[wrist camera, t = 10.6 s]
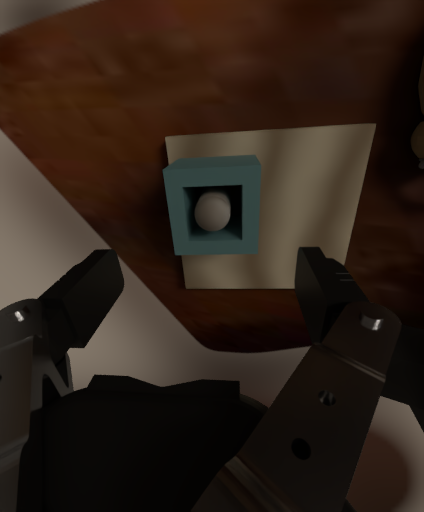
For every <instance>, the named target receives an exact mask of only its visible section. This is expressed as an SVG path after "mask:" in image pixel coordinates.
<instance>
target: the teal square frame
mask: <svg viewBox="0 0 424 512" xmlns="http://www.w3.org/2000/svg"><path fill="white" fill-rule="evenodd" d="M163 176H164V183H165V190H166V196H167V203H168V210H169V217H170V223H171V230H172V237H173V244H174V250H175V255H222V254H258V241H259V213H260V186H261V164H260V162H259V160H258V159H257V157H256V155H237V156H217V157H198V158H179V159H177V160H176V161H174V162H173V163H172V164H170V165H169V166H167V167H166V168H165V169H163ZM224 185H241V216H230V219H229V221H228V223H227V224H226V226H225V227H224V228H222V229H220V230H218V231H207V230H204V229H203V228H201V227H200V226H199V225H198V223H197V222H196V219H195V213H194V212H195V207H196V193H195V187H198V186H224Z"/></svg>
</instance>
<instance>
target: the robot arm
mask: <svg viewBox="0 0 424 512" xmlns="http://www.w3.org/2000/svg"><path fill="white" fill-rule="evenodd" d="M294 285H295V293H296V296H297V299H298V302H299V305H300V308H301V311H302V314H303V317H304V320H305V323H306V326H307V329H308V332H309V335H310V338H311V341H312V344H313V345H312V346H311V347H310V349H309V350H308V352H307V353H306V354H305V356H304V357H303V359H302V360H301V362H300V364H299V365H298V366H297V368H296V369H295V371H294V372H293V374H292V375H291V376H290V378H289V379H288V381H287V382H286V384H285V385H284V387H283V388H282V390H281V391H280V393H279V394H278V396H277V397H276V399H275V400H274V401H273V403H272V404H271V406H270V407H269V408H268V407H266V406H265V405H263V404H262V403H260V402H258V401H256V400H254V399H252V398H250V397H248V396H245V395H242V394H240V386H239V385H240V384H239V381H226V380H204V379H202V380H196V381H192V382H186V383H181V384H176V385H171V386H166V387H160V386H156V385H153V384H150V383H147V382H144V381H141V380H138V379H135V378H132V377H129V376H114V375H94V376H93V378H92V380H91V382H90V383H89V385H88V387H87V388H83V389H80V390H77V391H74V390H73V383H72V374H71V367H70V359H69V356H68V354H67V351H68V349H69V348H84V347H85V346H86V345H87V343H88V342H89V340H90V339H91V337H92V336H93V334H94V333H95V331H96V330H97V328H98V327H99V325H100V324H101V322H102V321H103V319H104V318H105V316H106V315H107V313H108V312H109V311H110V309H111V308H112V306H113V305H114V303H115V302H116V300H117V299H118V297H119V296H120V294H121V293H122V291H123V288H124V278H123V274H122V271H121V267H120V264H119V260H118V257H117V254H116V252H115V251H114V250H113V249H105V250H104V249H103V250H95V251H93V252H92V253H91V254H90V255H89V256H88V257H87V258H86V259H85V260H83V261H82V262H81V263H79V264H77V265H75V266H73V267H72V268H71V269H70V270H69V271H68V272H67V273H66V275H63V276H62V277H61V278H60V279H59V281H57V282H56V283H54V285H52V286H51V287H50V288H49V289H48V290H47V291H45V292H44V293H43V294H42V295H41V296H40V297H39V298H38V299H25V300H21V301H18V302H15V303H13V304H11V305H9V306H7V307H5V308H3V309H2V310H0V512H356V510H355V509H354V508H353V507H352V505H351V504H350V503H349V502H348V500H347V499H346V496H347V493H348V490H349V487H350V484H351V481H352V478H353V475H354V472H355V469H356V466H357V463H358V460H359V457H360V454H361V451H362V448H363V445H364V442H365V439H366V436H367V433H368V430H369V427H370V425H371V422H372V418H373V415H374V412H375V409H376V406H377V404H378V401H379V398H380V396H383V397H386V398H389V399H392V400H395V401H398V402H401V403H404V404H407V405H409V406H410V408H411V410H412V411H413V413H414V415H415V417H416V419H417V421H418V422H419V424H420V426H421V428H422V430H423V432H424V330H423V329H419V328H414V327H410V326H406V325H402V324H401V322H400V320H399V318H398V317H397V316H396V315H395V314H394V313H393V312H391V311H390V310H388V309H387V308H385V307H383V306H380V305H378V304H375V303H371V302H369V300H368V299H367V297H366V296H365V295H364V293H363V292H362V290H361V289H360V288H359V286H358V285H357V283H356V282H355V281H353V278H352V277H351V275H350V274H349V272H348V271H347V270H346V268H345V267H344V265H343V264H341V263H340V262H338V261H336V260H335V259H333V258H326V257H325V255H324V254H323V252H322V250H321V249H320V247H318V246H316V247H299V249H298V253H297V262H296V270H295V280H294Z"/></svg>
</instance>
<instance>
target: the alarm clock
mask: <svg viewBox="0 0 424 512" xmlns="http://www.w3.org/2000/svg"><path fill="white" fill-rule="evenodd" d="M418 89H419V97H420V106H421V112H422V113H423V115H424V56H423V62H422V67H421V73H420V78H419V84H418ZM411 147H412V150H413V152H414V153H415V155H416V156H417V157H418V158H419V161H421V162H420V163H419V166H418V167H419V168H421V169H424V121H423V122H420V123H419V125H418V126H417V127H416V129H415V130H414V132H413V134H412V137H411Z"/></svg>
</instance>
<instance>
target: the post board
mask: <svg viewBox="0 0 424 512" xmlns="http://www.w3.org/2000/svg"><path fill="white" fill-rule="evenodd" d="M375 128H376V124H351V125H336V126H320V127H304V128H289V129H273V130H258V131H242V132H227V133H211V134H195V135H180V136H168V137H165V140H166V147H167V154H168V162H169V165H170V164H172V163H173V162H174V161H176V160H177V159H179V158H198V157H217V156H237V155H256V157H257V159H258V160H259V162H260V164H261V186H260V213H259V241H258V254H222V255H181V256H182V263H183V271H184V278H185V285H186V289H278V288H295V285H294V280H295V270H296V262H297V253H298V249H299V247H316V246H318V247H320V249H321V250H322V252H323V254H324V255H325V257H326V258H333V259H335V260H336V261H338V262H340V263H341V264H343V265H344V263H345V258H346V254H347V250H348V245H349V241H350V236H351V232H352V228H353V223H354V219H355V215H356V210H357V206H358V202H359V197H360V193H361V189H362V184H363V180H364V176H365V171H366V167H367V162H368V158H369V154H370V149H371V145H372V141H373V136H374V132H375ZM195 193H196V207H195V212H194V213H195V219H196V222H197V223H198V225H199V226H200V227H201V228H203V229H204V230H207V231H218V230H220V229H222V228H224V227H225V226H226V224H227V223H228V221H229V219H230V216H241V185H224V186H198V187H195Z"/></svg>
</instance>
